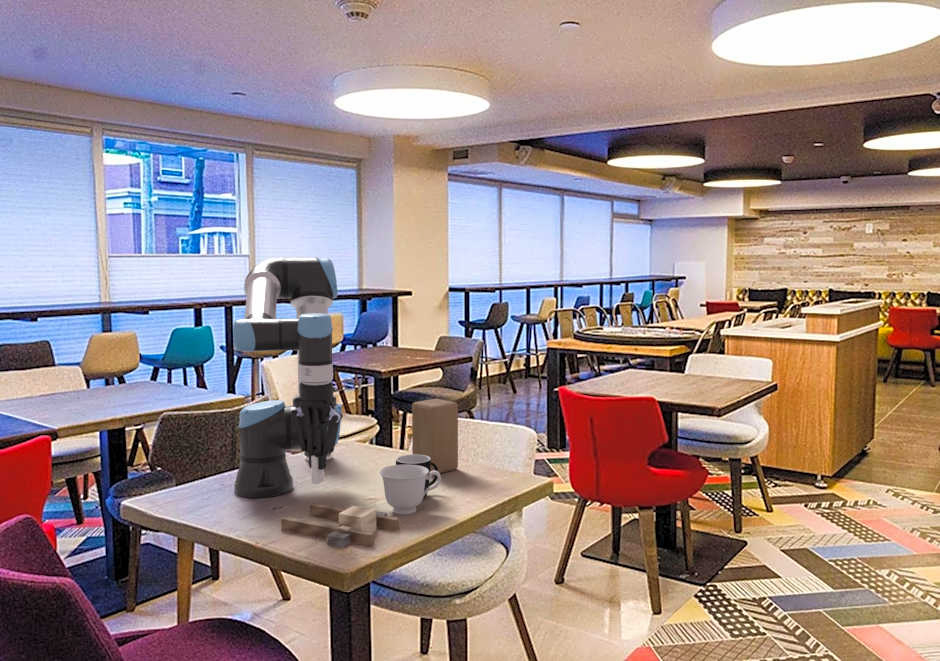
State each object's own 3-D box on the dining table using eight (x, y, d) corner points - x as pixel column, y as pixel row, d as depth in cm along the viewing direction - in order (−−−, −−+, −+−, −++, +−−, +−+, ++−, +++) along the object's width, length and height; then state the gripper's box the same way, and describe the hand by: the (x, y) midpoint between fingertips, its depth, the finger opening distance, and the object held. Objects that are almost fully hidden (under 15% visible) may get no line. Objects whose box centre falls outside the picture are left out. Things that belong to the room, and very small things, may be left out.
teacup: (442, 518, 180) (441, 476, 179) (378, 519, 179) (378, 478, 178) (440, 502, 192) (439, 463, 191) (380, 503, 191) (380, 464, 190)
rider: (338, 535, 170) (338, 513, 169) (354, 526, 175) (353, 505, 175) (361, 539, 167) (361, 517, 167) (376, 530, 172) (376, 509, 172)
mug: (407, 504, 190) (407, 465, 189) (389, 495, 198) (389, 457, 197) (447, 496, 197) (447, 457, 196) (428, 487, 204) (428, 450, 204)
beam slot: (272, 533, 170) (272, 521, 170) (321, 509, 186) (321, 498, 186) (362, 551, 160) (362, 538, 160) (406, 524, 176) (405, 512, 176)
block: (437, 463, 229) (437, 397, 228) (459, 469, 222) (459, 402, 220) (411, 469, 223) (410, 401, 221) (433, 476, 215) (432, 406, 213)
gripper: (282, 382, 172) (284, 482, 175) (329, 387, 166) (331, 491, 169) (303, 376, 179) (305, 473, 182) (349, 381, 173) (350, 481, 176)
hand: (318, 482), depth 176 cm, fingers closed
